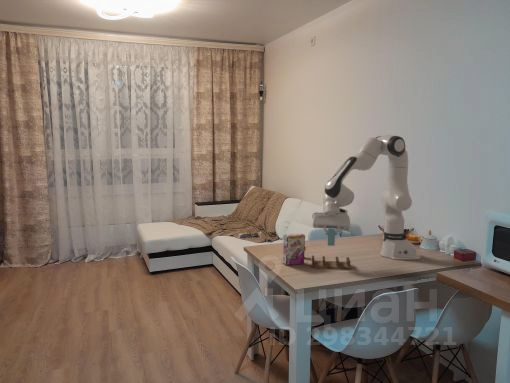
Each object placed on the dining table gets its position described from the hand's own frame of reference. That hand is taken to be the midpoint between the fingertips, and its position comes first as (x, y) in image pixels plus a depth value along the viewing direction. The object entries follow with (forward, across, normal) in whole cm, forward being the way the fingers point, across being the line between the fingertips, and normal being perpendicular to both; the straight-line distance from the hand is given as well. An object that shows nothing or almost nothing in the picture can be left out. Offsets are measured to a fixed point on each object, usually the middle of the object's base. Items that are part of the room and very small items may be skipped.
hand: (331, 234), depth 221 cm
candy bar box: (+12, -20, +14) cm, 27 cm away
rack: (+12, 0, +13) cm, 18 cm away
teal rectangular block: (+4, 0, +5) cm, 6 cm away
